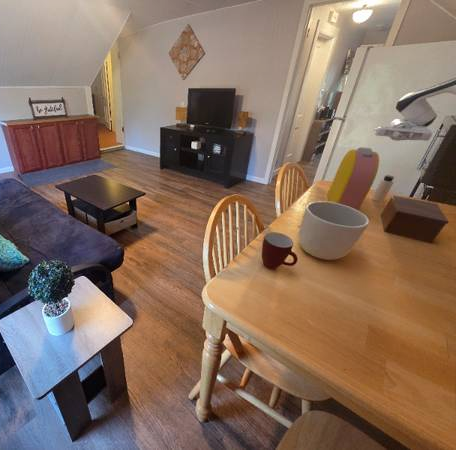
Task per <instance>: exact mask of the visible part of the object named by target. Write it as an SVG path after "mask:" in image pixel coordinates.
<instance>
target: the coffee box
mask: <svg viewBox="0 0 456 450" xmlns="http://www.w3.org/2000/svg"><path fill="white" fill-rule="evenodd" d="M380 219H381V224H382V228H383V232H384V233H387V234H391V235H395V236H399V237H403V238H409V239H411V240H416V241H420V242H423V243H428V244H432V243H433V242H434V240H435V239H436V238H437V237H438V235H439V234H440V233H441V231H442V230H443V229H444V227H445V226H446V224H445V223H441V222H436V221H431V220H427V219H422V218H417V217H413V216H408V215H404V214H399V213H396V210H395V207H394V204H393V201H392V198H391V197H390V198H389V200H388V202H387V204H386V206H385V207H384V209H383V211H382V212H381V214H380Z"/></svg>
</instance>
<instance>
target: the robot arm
mask: <svg viewBox="0 0 456 450" xmlns="http://www.w3.org/2000/svg"><path fill="white" fill-rule="evenodd" d="M441 94H452V95H454V96H456V77H455V78H451V79H449V80H445V81H443V82H439V83H438V84H435V85H431V86H428V87H427V88H424V89H420V90H416V91H413V92H410V93H407V94H406V95H403V96H402V97H401V98H400V99H398V101H397V102H396V105H395V109H396V110H397V112H398V113H399V114H401V116H402V117H403V118H397V119H394V120H392V121H391V122H389V123H388V124H387V126H384V125H383V126H378V127H377V128H375V129H374V132H375V133H374V135H375V136H379V137H388V138H390V140H392V141H395V142H399V141H426V142H428V141H430V139H431V138H432V136H433V132H434V131H432V130H431V129H429V128H428V127H429V126H431V125H432V124H433V123H434V121H435V120H436V118H437V117H438V114H437V112H436V111H435V110H434V108H433V107H432V106H431V105H430V103H429V101H428V99H429V98H433V97H436V96H438V95H441Z"/></svg>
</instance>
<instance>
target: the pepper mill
mask: <svg viewBox="0 0 456 450" xmlns="http://www.w3.org/2000/svg"><path fill="white" fill-rule="evenodd" d="M394 179H395V177H394V176H393V175H389V174H386V175H385V176H384V178H381V179H380V181H379V183H378V184H377V186H376V188H375V190H374V192H373V194H372V195H371V197H370V199H371V200H372V201H375V202H380V203H381V202H382V203H383V202H384V201H385V200H386V197H387V195H388V193H389V192H390V190H391V188H392V187H393V185H394V183H395V181H394Z"/></svg>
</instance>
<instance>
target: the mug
mask: <svg viewBox="0 0 456 450" xmlns="http://www.w3.org/2000/svg"><path fill="white" fill-rule="evenodd" d="M293 247H294V240H293V239H292V238H291V237H290V236H288V235H287V234H284V233H281V232H275V231H272V232H267V233H266V234H265V235H264V237H263V240H262V246H261V259H262V262H263V265H264V267H266V268H268V269H271V270H275V269H277V268H278V267H280V266H282V265H284V266H287V267H293V266H296V264H297V263H298V260H299V258H298V255H297V253H295V252H294V251H292V250H293ZM288 256H291V257H292V258H293V261H292V262H287V261H286V259H287V258H288Z"/></svg>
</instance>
